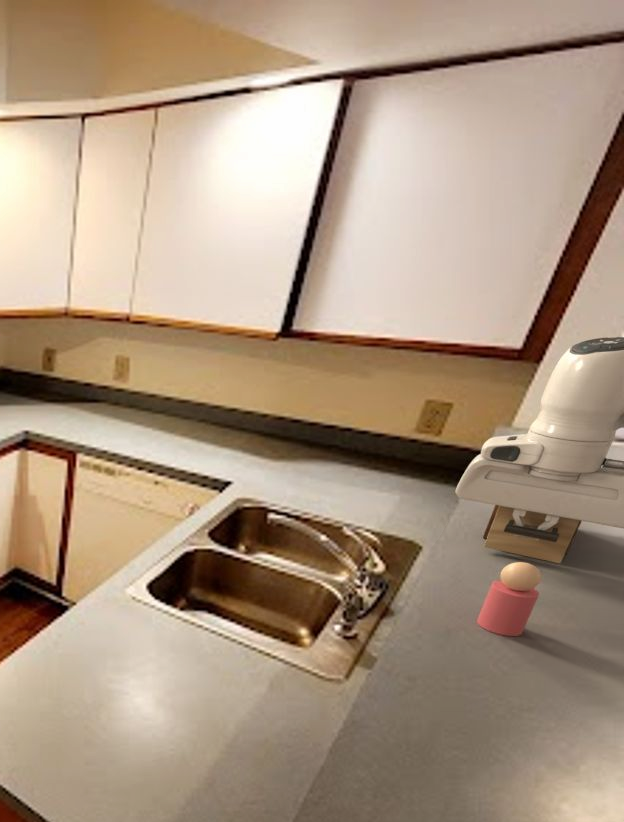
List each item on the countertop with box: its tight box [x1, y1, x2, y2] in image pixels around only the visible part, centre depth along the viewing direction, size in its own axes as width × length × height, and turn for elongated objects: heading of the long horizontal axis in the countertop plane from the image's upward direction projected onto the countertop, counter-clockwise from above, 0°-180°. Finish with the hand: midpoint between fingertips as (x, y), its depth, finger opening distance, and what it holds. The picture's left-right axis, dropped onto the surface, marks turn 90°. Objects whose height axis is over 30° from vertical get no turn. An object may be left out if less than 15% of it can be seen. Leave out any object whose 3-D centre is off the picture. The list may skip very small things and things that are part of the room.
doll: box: [476, 561, 542, 637], centre depth 82 cm, size 5×5×10 cm
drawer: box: [483, 506, 580, 564], centre depth 101 cm, size 18×9×8 cm, turn 134°
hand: (526, 537), depth 98 cm, fingers closed
